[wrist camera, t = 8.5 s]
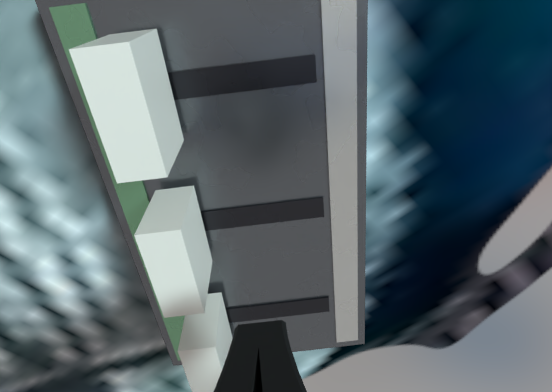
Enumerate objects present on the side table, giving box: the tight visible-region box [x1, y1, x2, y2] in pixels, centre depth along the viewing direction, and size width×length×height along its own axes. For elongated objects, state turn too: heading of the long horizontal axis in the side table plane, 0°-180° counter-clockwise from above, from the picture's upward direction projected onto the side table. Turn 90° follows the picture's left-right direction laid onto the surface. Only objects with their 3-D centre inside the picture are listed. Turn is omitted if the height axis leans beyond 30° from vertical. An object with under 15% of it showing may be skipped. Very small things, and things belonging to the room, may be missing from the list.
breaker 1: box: [69, 29, 184, 183], centre depth 12 cm, size 2×4×3 cm, turn 6°
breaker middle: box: [134, 186, 212, 318], centre depth 15 cm, size 2×4×3 cm, turn 7°
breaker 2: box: [178, 292, 232, 392], centre depth 18 cm, size 2×4×3 cm, turn 6°
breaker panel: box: [35, 0, 368, 365], centre depth 18 cm, size 11×19×2 cm, turn 6°
